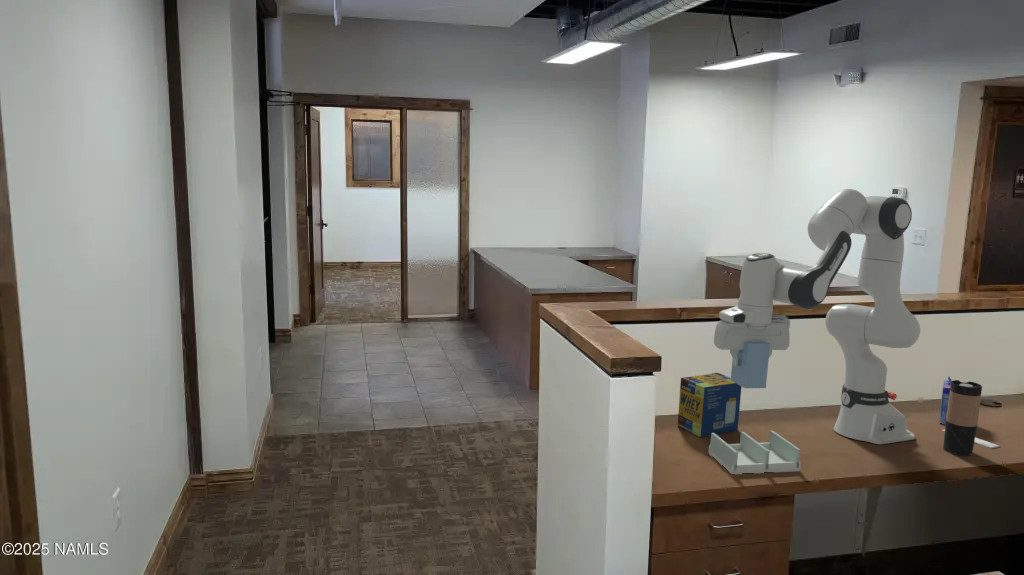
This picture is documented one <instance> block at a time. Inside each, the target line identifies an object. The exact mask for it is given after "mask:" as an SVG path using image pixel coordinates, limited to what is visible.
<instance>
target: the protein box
mask: <svg viewBox="0 0 1024 575" xmlns="http://www.w3.org/2000/svg"><path fill="white" fill-rule="evenodd" d="M741 396H742V386H740V385H738V384H737V383H735V382H733V381H732V380H731V376H727V375H725V374H722V373H720V372H712V373H706V374H701V375H700V374H699V375H694V376H693V375H691V376H686V377H680V386H679V399H678V400H679V401H678V412H677V413H678V415H677V416H678V417H677V427H678V428H679V427H680V428H682V429H683V430H686V431H687V432H689V433H691V434H693V435H695V436H697V437H699V438H704V437H709V436H711V433H715V434H716V435H720V434H725V433H729V432H734V431H738V430H739V422H740V421H739V418H740V409H741V408H740V407H741Z"/></svg>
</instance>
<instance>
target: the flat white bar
mask: <svg viewBox="0 0 1024 575" xmlns="http://www.w3.org/2000/svg"><path fill="white" fill-rule="evenodd" d="M943 431H945V428H944V429H942V430H941V432H943ZM974 444H976V445H980V446H982V447H984V448H988V449H990V450H991V449H996V448H1000V447H1001V446H1000V445H999V444H995V443H993V442H989V441H987V440H984V439H981V438H978V437H976V436H975V441H974Z"/></svg>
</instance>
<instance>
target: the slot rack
mask: <svg viewBox="0 0 1024 575" xmlns="http://www.w3.org/2000/svg"><path fill="white" fill-rule="evenodd" d="M739 439H740V440H739V443H727V442H726V441H725V440H723V439H722V438H721V437H720V436H719V435H718V434H715V433H711V435H710V444H709V445H708V453H709V454H708V455H709V456H711V457H712V456H713V457H714V458H715V459H716V460H717V461H718V462H719V463H718V462H717V461H716V460H715V459H714V458H713V457H712V458H713V459H714V460H715V461H716V462H717V463H718V464H719V465H721V466H722V465H723V466H724V467H725V468H726V469H727V470H728V473H730V474H731V475H732V474H735V475H743V474H742V473H754V474H765V473H764V472H774V473H788V472H789V473H793V472H800V471H801V463H802V462H801V461H800V459H801V449H800V448H799V447H798V446H796V445H794V444H793V443H792V442H791V441H788V439H786V438H784V437H783V436H782V435H780V434H778V433H777V432H776V431H774V430H769V440H768V442H758V441H757V440H755V438H753V437H752V436H750V435H749V434H747V433H746V432H745V431H740V438H739ZM723 466H722V467H723ZM724 467H723V468H724ZM725 468H724V469H725ZM726 469H725V470H726Z"/></svg>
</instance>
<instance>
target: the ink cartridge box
mask: <svg viewBox="0 0 1024 575" xmlns="http://www.w3.org/2000/svg"><path fill="white" fill-rule="evenodd" d="M947 379H948V380H944V381H943V386H942V391H941V403H940V409H939V410H940V412H939V422H940V423H942V424H941V425H945V424H946V415H947V408H948V401H949V394H950V387H951V382H952V381H953V380H952V379H951V376H949V375H948V376H947ZM940 423H939V424H940Z"/></svg>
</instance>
